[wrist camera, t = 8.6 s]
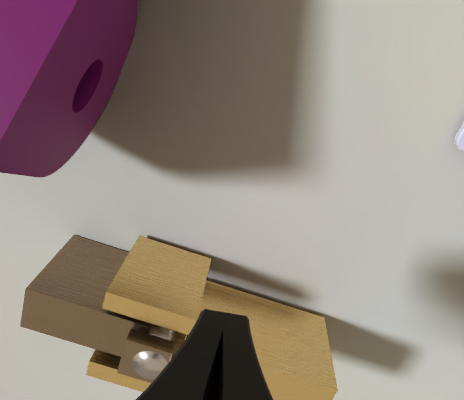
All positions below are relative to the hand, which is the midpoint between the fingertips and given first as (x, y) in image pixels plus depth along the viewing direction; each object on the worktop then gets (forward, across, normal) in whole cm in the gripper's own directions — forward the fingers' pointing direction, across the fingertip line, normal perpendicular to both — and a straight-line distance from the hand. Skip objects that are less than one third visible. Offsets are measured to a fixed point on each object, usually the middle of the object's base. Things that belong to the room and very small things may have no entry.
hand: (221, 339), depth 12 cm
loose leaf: (+10, 0, +6) cm, 11 cm away
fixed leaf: (+10, +5, +5) cm, 12 cm away
